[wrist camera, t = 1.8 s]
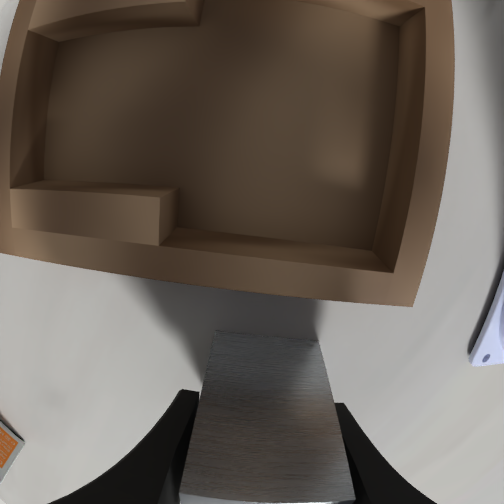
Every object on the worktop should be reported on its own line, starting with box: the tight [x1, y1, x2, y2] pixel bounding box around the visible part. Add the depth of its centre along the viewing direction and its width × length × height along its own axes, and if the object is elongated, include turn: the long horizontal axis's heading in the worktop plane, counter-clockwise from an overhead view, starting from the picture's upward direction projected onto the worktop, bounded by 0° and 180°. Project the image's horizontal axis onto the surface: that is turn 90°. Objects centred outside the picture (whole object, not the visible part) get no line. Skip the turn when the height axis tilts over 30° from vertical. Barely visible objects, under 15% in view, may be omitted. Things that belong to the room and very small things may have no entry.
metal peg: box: [179, 330, 356, 504], centre depth 9 cm, size 4×4×7 cm
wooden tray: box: [0, 0, 455, 307], centre depth 8 cm, size 14×10×2 cm
